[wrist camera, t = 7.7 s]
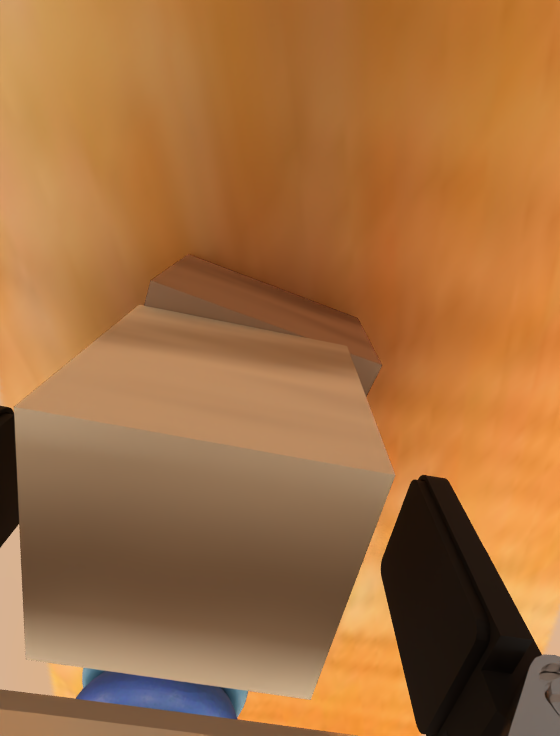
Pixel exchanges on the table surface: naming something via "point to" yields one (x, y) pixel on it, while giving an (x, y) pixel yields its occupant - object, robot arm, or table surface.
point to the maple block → (196, 503)
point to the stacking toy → (161, 694)
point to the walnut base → (259, 309)
